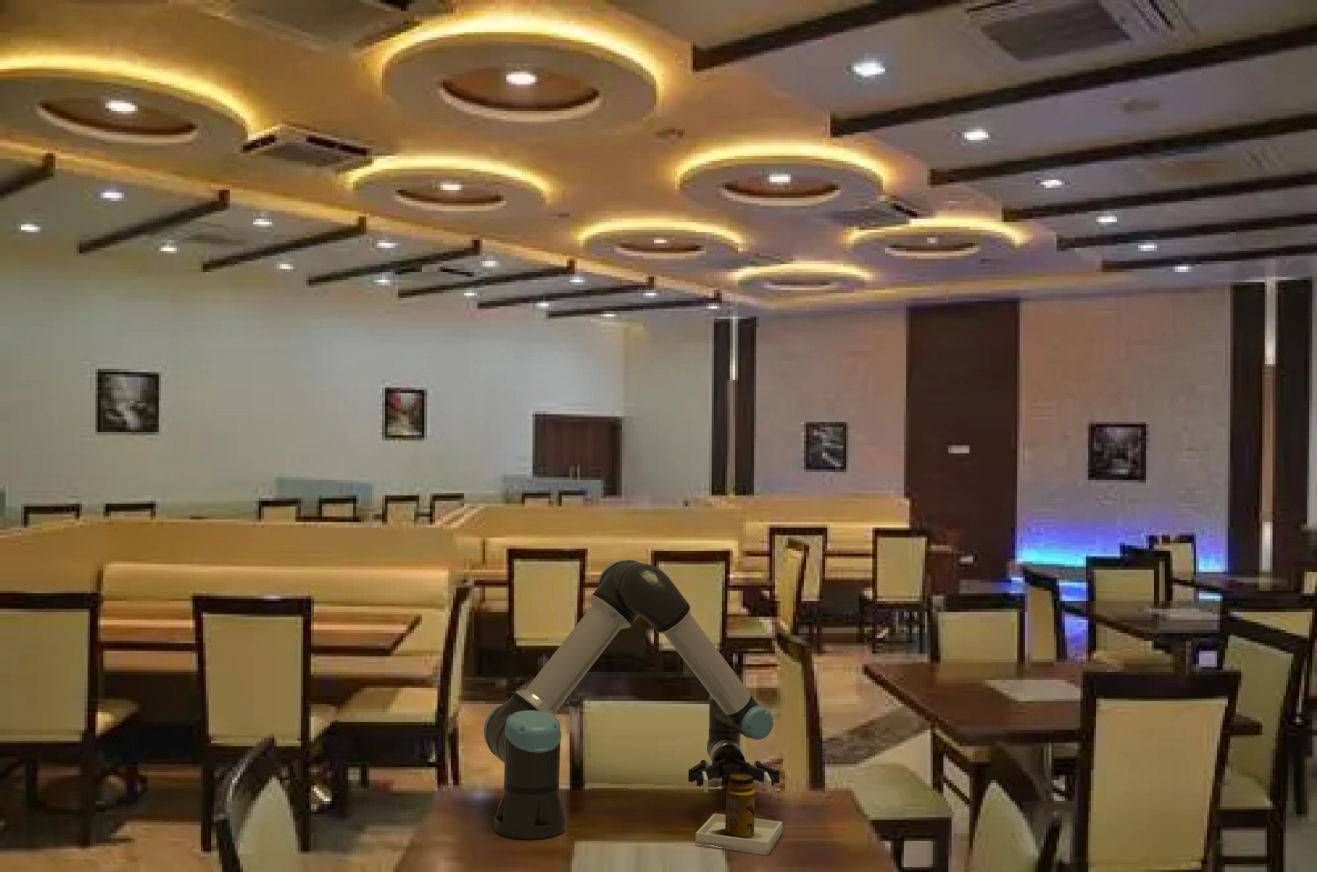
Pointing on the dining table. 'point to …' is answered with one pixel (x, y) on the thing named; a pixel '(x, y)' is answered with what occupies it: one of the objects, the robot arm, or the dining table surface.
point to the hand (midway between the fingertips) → (738, 786)
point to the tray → (758, 845)
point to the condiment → (739, 808)
